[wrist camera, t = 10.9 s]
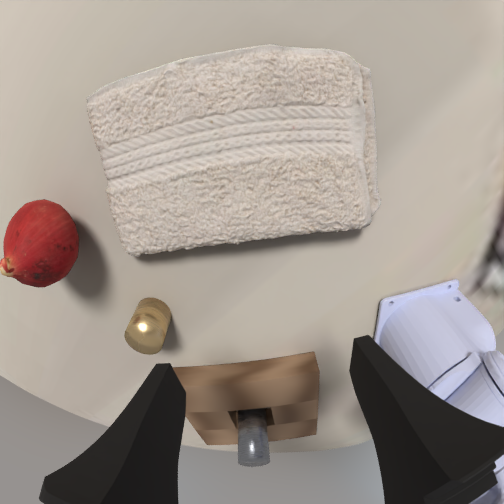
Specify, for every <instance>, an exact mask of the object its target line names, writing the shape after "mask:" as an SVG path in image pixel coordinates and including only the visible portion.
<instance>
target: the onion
mask: <svg viewBox="0 0 504 504" xmlns="http://www.w3.org/2000/svg"><path fill="white" fill-rule="evenodd" d="M78 248H79V236H78V233H77V229H76V226H75V223H74V222H73V220H72V218H71V216H70V215H69V213H68V212H67V211H66V210H65V209H64V208H63V207H62V206H61V205H59V204H56V203H54V202H51V201H48V200H45V199H44V200H37V201H32V202H29V203H26V204H25V205H24V206H23V207H21V208H20V209H19V210H18V211H17V213H16V214H15V215H14V216H13V217H12V219H11V221H10V222H9V224H8V227H7V230H6V234H5V237H4V258H3V259H2V260H1V262H0V270H1V273H2V274H3V275H5V276H7V277H13V278H15V279H17V280H18V281H19V282H21V283H22V284H26V285H30V286H34V287H46V286H49V285H51V284H53V283H55V282H57V281H60V280H61V279H62V278H64V277H65V276H67V274H68V273H69V271H70V270H71V268H72V266H73V264H74V263H75V261H76V259H77V257H78Z"/></svg>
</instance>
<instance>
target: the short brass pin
mask: <svg viewBox="0 0 504 504" xmlns="http://www.w3.org/2000/svg"><path fill="white" fill-rule="evenodd" d="M170 320H171V311H170V309H169V307H168V306H167V305H166V304H165V303H164V302H162V301H161V300H159V299H156V298H145V299H143V300H141V301H140V302H139V304H138V306H137V308H136V310H135V312H134V314H133V316H132V318H131V320H130V322H129V325H128V327H127V329H126V331H125V340H126V342H127V343H128V344H129V346H130V347H132V348H133V349H134V350H136V351H138V352H140V353H143V354H149V355H151V354H156V353H158V352H159V351H160V350H161V349H162V346H163V342H164V339H165V336H166V333H167V329H168V326H169V323H170Z"/></svg>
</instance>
